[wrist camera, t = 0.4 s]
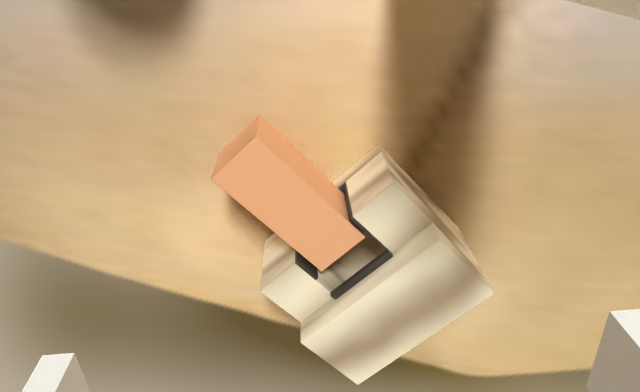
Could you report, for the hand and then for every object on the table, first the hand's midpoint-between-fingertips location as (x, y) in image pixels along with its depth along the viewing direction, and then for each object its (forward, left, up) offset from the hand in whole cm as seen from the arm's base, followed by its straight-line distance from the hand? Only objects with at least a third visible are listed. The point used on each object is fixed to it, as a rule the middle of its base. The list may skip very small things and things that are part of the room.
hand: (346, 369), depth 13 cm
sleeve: (+11, -5, -25) cm, 28 cm away
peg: (+3, -5, -23) cm, 24 cm away
